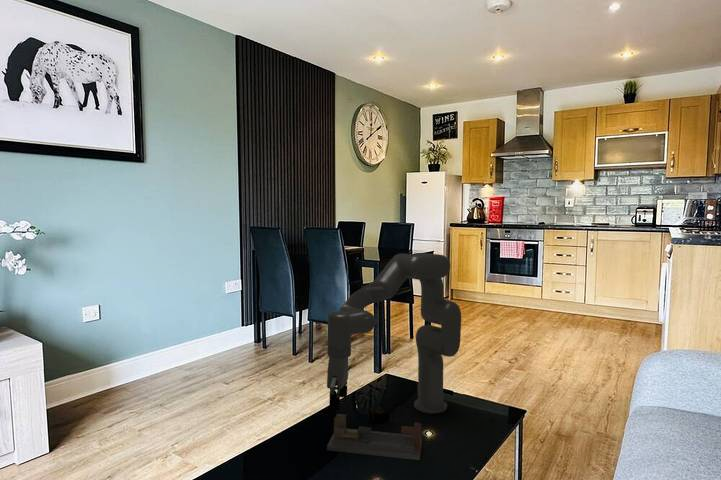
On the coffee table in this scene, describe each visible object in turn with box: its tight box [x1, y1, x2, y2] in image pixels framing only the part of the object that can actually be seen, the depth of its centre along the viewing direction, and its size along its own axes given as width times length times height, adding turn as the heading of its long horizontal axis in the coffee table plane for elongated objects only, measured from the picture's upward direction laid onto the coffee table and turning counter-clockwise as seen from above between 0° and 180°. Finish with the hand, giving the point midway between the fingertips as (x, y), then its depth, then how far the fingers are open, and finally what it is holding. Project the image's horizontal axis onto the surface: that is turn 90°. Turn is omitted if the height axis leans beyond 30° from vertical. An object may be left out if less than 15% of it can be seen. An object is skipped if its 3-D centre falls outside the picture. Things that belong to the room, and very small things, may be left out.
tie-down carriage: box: [333, 413, 372, 441], centre depth 142 cm, size 5×12×7 cm, turn 78°
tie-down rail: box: [326, 422, 423, 461], centre depth 140 cm, size 10×29×8 cm, turn 78°
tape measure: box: [368, 405, 391, 423], centre depth 159 cm, size 7×7×4 cm
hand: (338, 402), depth 142 cm, fingers open, 9 cm apart
